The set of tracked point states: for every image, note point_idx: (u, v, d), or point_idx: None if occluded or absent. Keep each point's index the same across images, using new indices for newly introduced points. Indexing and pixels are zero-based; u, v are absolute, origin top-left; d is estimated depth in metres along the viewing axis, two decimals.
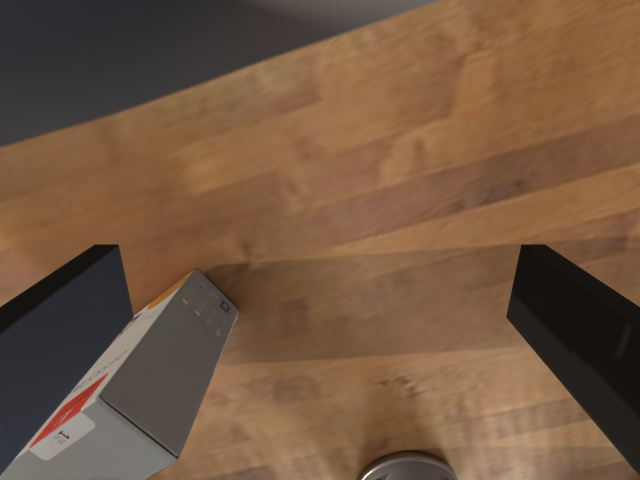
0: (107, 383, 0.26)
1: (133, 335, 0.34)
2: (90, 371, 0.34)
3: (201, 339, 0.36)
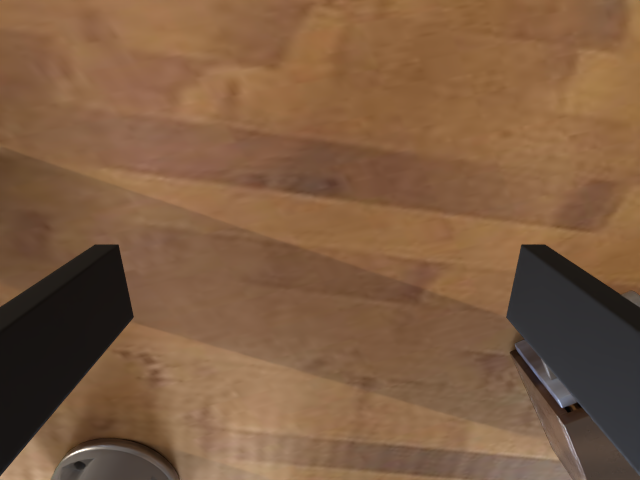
0: None
1: None
2: None
3: None
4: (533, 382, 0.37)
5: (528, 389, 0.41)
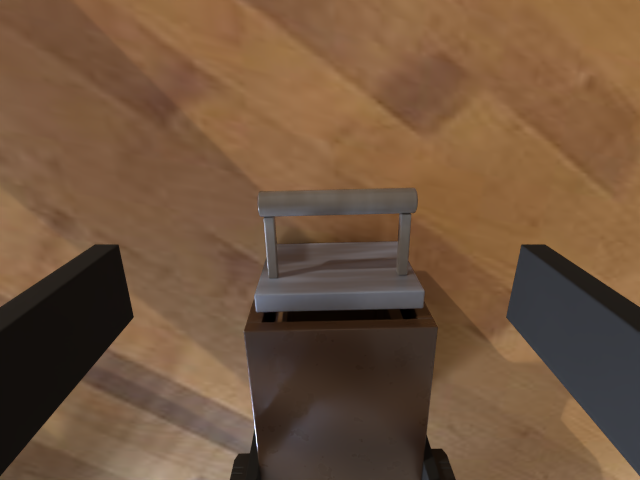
0: None
1: None
2: None
3: None
4: None
5: None
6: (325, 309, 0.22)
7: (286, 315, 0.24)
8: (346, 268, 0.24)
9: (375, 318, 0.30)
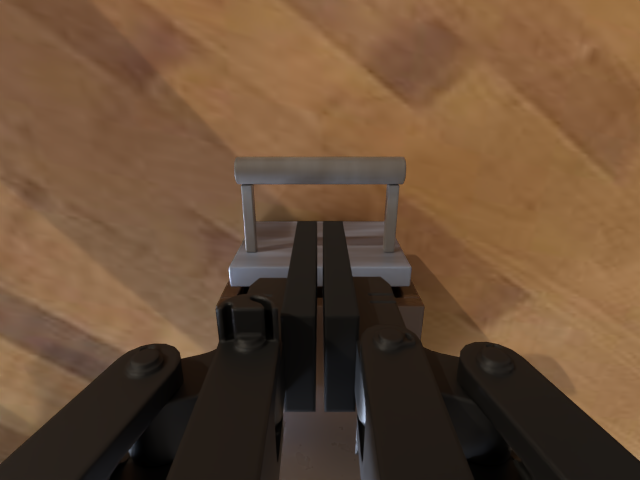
0: None
1: None
2: None
3: None
4: None
5: None
6: None
7: None
8: None
9: None
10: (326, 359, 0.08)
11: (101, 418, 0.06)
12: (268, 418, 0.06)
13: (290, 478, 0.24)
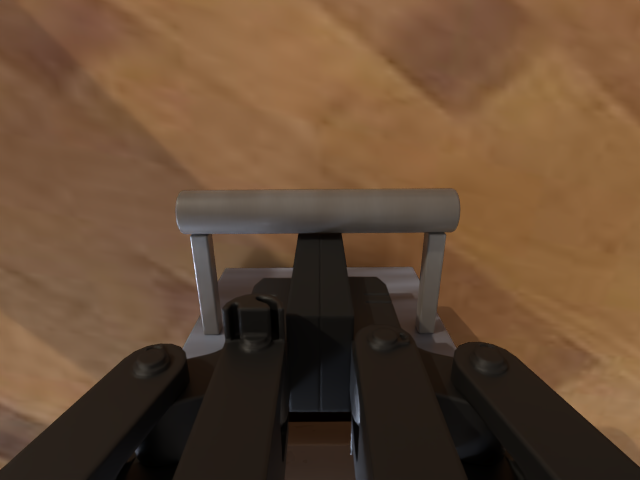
0: None
1: None
2: None
3: None
4: None
5: None
6: None
7: None
8: None
9: None
10: (321, 359, 0.08)
11: (108, 418, 0.06)
12: (274, 418, 0.06)
13: None
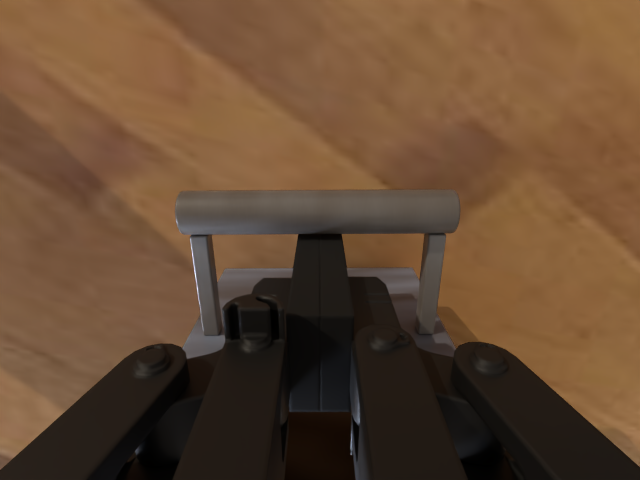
0: None
1: None
2: None
3: None
4: None
5: None
6: None
7: None
8: None
9: None
10: (321, 359, 0.08)
11: (108, 418, 0.06)
12: (274, 418, 0.06)
13: None
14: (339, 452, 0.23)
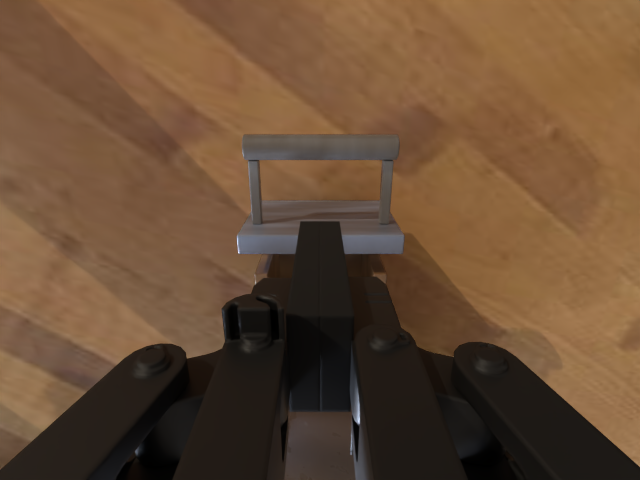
0: None
1: None
2: None
3: None
4: None
5: None
6: None
7: (269, 263, 0.24)
8: (330, 218, 0.25)
9: None
10: (321, 359, 0.08)
11: (108, 418, 0.06)
12: (274, 418, 0.06)
13: None
14: None
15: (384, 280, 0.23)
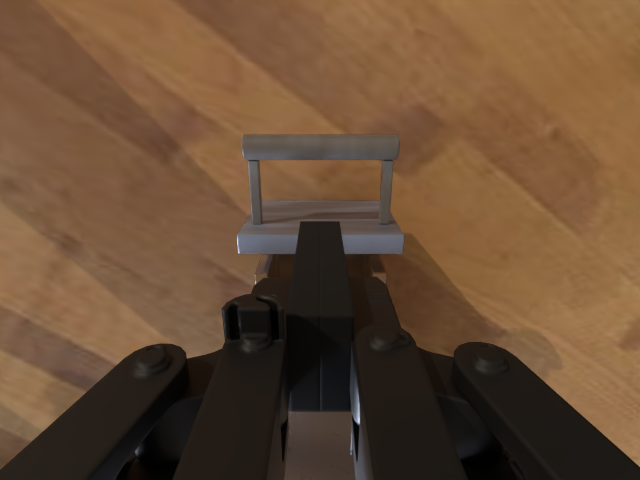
0: None
1: None
2: None
3: None
4: None
5: None
6: None
7: (269, 263, 0.24)
8: (330, 218, 0.25)
9: None
10: (321, 359, 0.08)
11: (108, 418, 0.06)
12: (274, 418, 0.06)
13: None
14: None
15: (384, 280, 0.23)
